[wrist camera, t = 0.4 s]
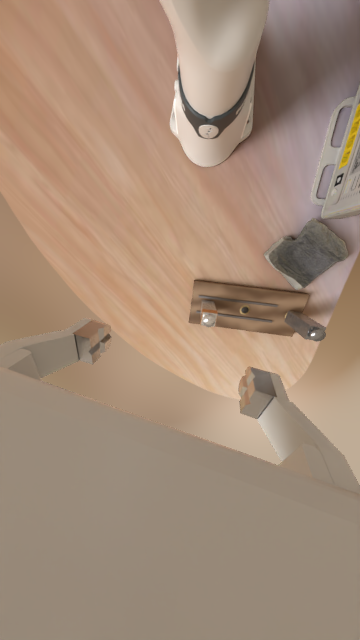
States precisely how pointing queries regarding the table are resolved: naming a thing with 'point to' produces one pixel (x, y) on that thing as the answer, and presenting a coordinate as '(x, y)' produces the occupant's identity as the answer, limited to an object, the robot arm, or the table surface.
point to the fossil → (306, 254)
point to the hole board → (247, 306)
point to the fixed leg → (305, 326)
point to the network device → (341, 166)
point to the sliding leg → (208, 313)
